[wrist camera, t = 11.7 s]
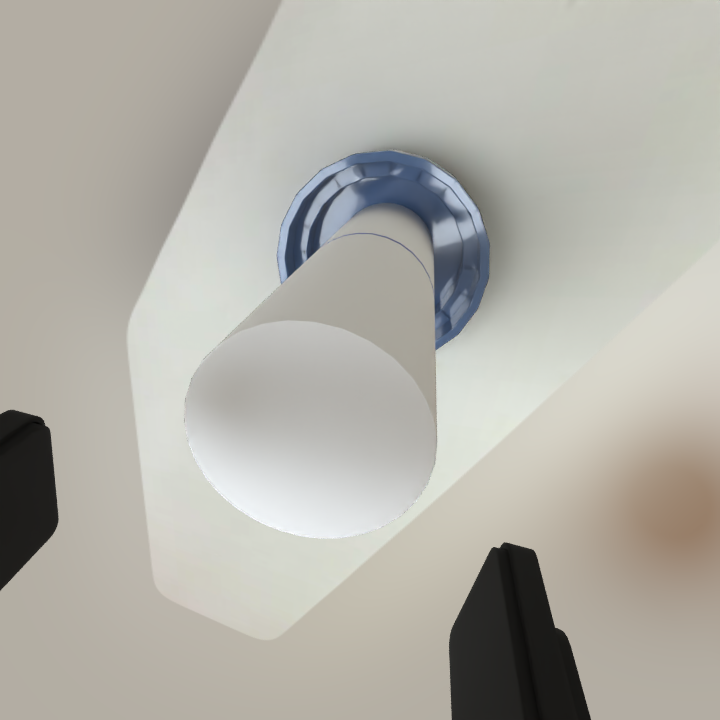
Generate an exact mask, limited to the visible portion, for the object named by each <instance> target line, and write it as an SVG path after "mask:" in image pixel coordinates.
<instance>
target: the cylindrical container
mask: <svg viewBox="0 0 720 720" xmlns="http://www.w3.org/2000/svg"><path fill="white" fill-rule="evenodd" d="M184 423H185V429H186V435H187V440H188V443H189V446H190V449H191V451H192V454H193V456H194V459H195V461H196V463H197V464H198V466H199V468H200V469H201V471H202V473H203V474H204V476H205V477H206V479H207V480H208V481H209V482H210V483H211V485H212V486H213V487H214V488H215V489H216V491H217V492H218V493H219V494H220V495H221V496H222V497H224V498H225V499H226V500H227V501H228V502H229V503H231V504H232V505H233V506H234V507H235V508H236V509H238V510H240V511H241V512H243V513H244V514H246V515H248V516H249V517H251V518H252V519H254V520H256V521H258V522H260V523H262V524H265V525H267V526H269V527H272V528H274V529H276V530H279V531H283V532H286V533H290V534H294V535H298V536H303V537H312V538H320V539H329V538H346V537H351V536H357V535H362V534H365V533H368V532H371V531H373V530H376V529H379V528H382V527H384V526H385V525H387V524H389V523H390V522H392V521H394V520H395V519H397V518H399V517H400V516H401V515H403V514H404V513H405V512H406V511H407V510H408V509H409V508H410V507H411V506H412V505H413V504H414V503H415V502H416V501H417V500H418V498H419V497H420V495H421V494H422V492H423V491H424V489H425V488H426V486H427V485H428V483H429V480H430V477H431V474H432V471H433V468H434V465H435V460H436V449H437V410H436V358H435V306H434V249H433V241H432V237H431V234H430V231H429V230H428V228H427V226H426V224H425V223H424V222H423V220H422V219H421V218H420V217H419V216H418V215H417V214H416V213H414V212H413V211H412V210H410V209H408V208H406V207H404V206H402V205H398V204H393V203H379V204H374V205H371V206H368V207H366V208H364V209H362V210H361V211H359V212H358V213H356V214H355V215H354V216H353V217H352V218H351V219H350V220H349V221H348V222H347V223H346V224H345V225H344V226H342V227H341V228H340V229H339V230H338V231H337V232H336V233H335V234H334V235H333V236H332V237H331V238H330V239H329V240H328V241H327V242H326V243H325V244H324V245H323V246H322V247H321V248H320V249H318V250H317V251H316V252H315V253H314V254H313V255H312V256H311V257H310V258H309V259H308V260H307V261H306V262H305V263H304V264H302V265H301V266H300V267H299V268H298V269H297V270H296V271H295V272H294V273H293V274H292V275H291V276H290V277H289V278H288V279H286V280H285V281H284V282H283V283H282V284H281V285H280V286H279V287H278V288H277V289H276V290H275V291H274V292H273V293H272V294H271V295H270V296H269V297H268V298H267V299H266V300H264V301H263V302H262V303H261V304H260V305H259V306H258V307H257V308H256V309H255V310H254V311H253V312H252V313H251V314H250V315H249V316H248V317H247V318H246V319H245V320H244V321H243V322H242V323H240V324H239V325H238V326H237V327H236V328H235V329H234V330H233V331H232V332H231V333H230V334H229V335H228V336H227V337H226V338H225V339H224V340H223V341H222V342H221V343H220V344H219V345H218V346H216V347H215V348H214V349H213V350H212V351H211V352H210V353H209V354H208V355H207V356H206V357H205V358H204V359H203V361H202V362H201V364H200V365H199V367H198V369H197V370H196V372H195V374H194V375H193V377H192V378H191V382H190V385H189V388H188V392H187V395H186V398H185V412H184Z"/></svg>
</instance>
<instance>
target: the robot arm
mask: <svg viewBox="0 0 720 720" xmlns="http://www.w3.org/2000/svg"><path fill="white" fill-rule="evenodd" d="M57 524H58V508H57V497H56V487H55V476H54V465H53V455H52V445H51V434H50V429H49V428H48V427H46V426H45V423H44V420H43V419H42V418H41V417H38V416H34V415H30V414H27V413H23V412H19V411H15V410H8V411H6V412H4V413H2V414H0V590H1V589H2V588H3V587H4V586H5V585H6V584H7V583H8V582H9V581H10V580H11V579H12V578H13V577H14V575H15V574H16V573H17V572H18V571H19V570H20V569H21V568H22V567H23V566H24V565H25V564H26V563H27V562H28V561H29V560H30V558H31V557H32V556H33V555H34V554H35V553H36V552H37V551H38V550H39V549H40V548H41V547H42V546H43V545H44V543H46V542H47V541H48V539H49V538H50V537H51V536H52V535H53V533H54V532H55V530H56V527H57ZM449 656H450V679H451V680H450V683H451V709H452V720H591V718H590V714H589V711H588V707H587V704H586V700H585V696H584V693H583V689H582V686H581V682H580V678H579V674H578V671H577V667H576V664H575V660H574V656H573V653H572V649H571V646H570V643H569V640H568V638H567V636H566V635H565V633H564V632H563V631H562V630H560V629H558V628H555V626H554V622H553V618H552V614H551V610H550V606H549V602H548V599H547V595H546V591H545V587H544V583H543V579H542V575H541V571H540V567H539V563H538V559H537V556H536V553H535V552H534V550H532V549H528V548H524V547H521V546H517V545H513V544H510V543H503V544H502V545H501V547H500V548H496V547H493V548H492V549H491V551H490V552H489V554H488V556H487V559H486V560H485V562H484V564H483V566H482V569H481V570H480V572H479V574H478V577H477V579H476V581H475V583H474V585H473V587H472V589H471V591H470V593H469V595H468V597H467V599H466V601H465V603H464V605H463V607H462V609H461V611H460V613H459V615H458V617H457V619H456V621H455V623H454V625H453V627H452V630H451V634H450V642H449Z"/></svg>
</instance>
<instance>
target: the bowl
mask: <svg viewBox="0 0 720 720" xmlns="http://www.w3.org/2000/svg"><path fill="white" fill-rule="evenodd" d="M379 203H393V204H398V205H402V206H404V207H406V208H408V209H410V210H412V211H413V212H414V213H416V214H417V215H418V216H419V217H420V218H421V219H422V220H423V222H424V223H425V224H426V226H427V228H428V230H429V231H430V234H431V237H432V241H433V249H434V306H435V350H437V349H438V348H440V347H441V346H443V345H444V344H445V343H447V342H448V341H450V340H451V339H453V338H454V337H455V336H457V335H458V334H459V333H460V332H461V330H462V329H463V328H464V326H465V325H466V324H467V322H468V321H469V320H470V319H471V317H472V316H473V315H474V313H475V312H476V311H477V309H478V307H479V304H480V302H481V299H482V296H483V293H484V290H485V287H486V285H487V282H488V279H489V254H490V243H489V239H488V236H487V233H486V230H485V227H484V224H483V220H482V217H481V214H480V211H479V209H478V207H477V206H476V204H475V203H474V202H473V200H472V199H471V197H470V196H469V195H468V193H467V192H466V191H465V189H464V188H463V187H462V185H461V184H460V183H459V181H458V180H457V179H456V177H455V176H454V175H453V174H451V173H450V172H448V171H447V170H445V169H444V168H442V167H441V166H439V165H438V164H436V163H435V162H433V161H432V160H430V159H429V158H427V157H424V156H420V155H416V154H412V153H408V152H404V151H400V150H394V149H393V150H383V151H373V152H363V153H357V154H353V155H350V156H348V157H346V158H344V159H342V160H340V161H338V162H336V163H333V164H331V165H329V166H327V167H325V168H323V169H322V170H320V171H319V172H318V173H317V174H316V175H315V176H314V177H313V178H312V179H311V180H310V181H309V182H308V183H307V184H306V185H305V186H304V187H303V188H302V189H301V190H300V191H299V192H298V193H297V194H296V196H295V198H294V200H293V202H292V204H291V206H290V208H289V210H288V212H287V214H286V216H285V218H284V220H283V222H282V225H281V230H280V237H279V244H278V251H277V262H278V268H279V274H280V280H281V284H282V283H283V282H284V281H285V280H286V279H288V278H289V277H290V276H291V275H292V274H293V273H294V272H295V271H296V270H297V269H298V268H299V267H300V266H301V265H302V264H304V263H305V262H306V261H307V260H308V259H309V258H310V257H311V256H312V255H313V254H314V253H315V252H316V251H317V250H318V249H320V248H321V247H322V246H323V245H324V244H325V243H326V242H327V241H328V240H329V239H330V238H331V237H332V236H333V235H334V234H335V233H336V232H337V231H338V230H339V229H340V228H341V227H342V226H344V225H345V224H346V223H347V222H348V221H349V220H350V219H351V218H352V217H353V216H354V215H355V214H356V213H358V212H359V211H361V210H362V209H364V208H366V207H368V206H371V205H374V204H379Z"/></svg>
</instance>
